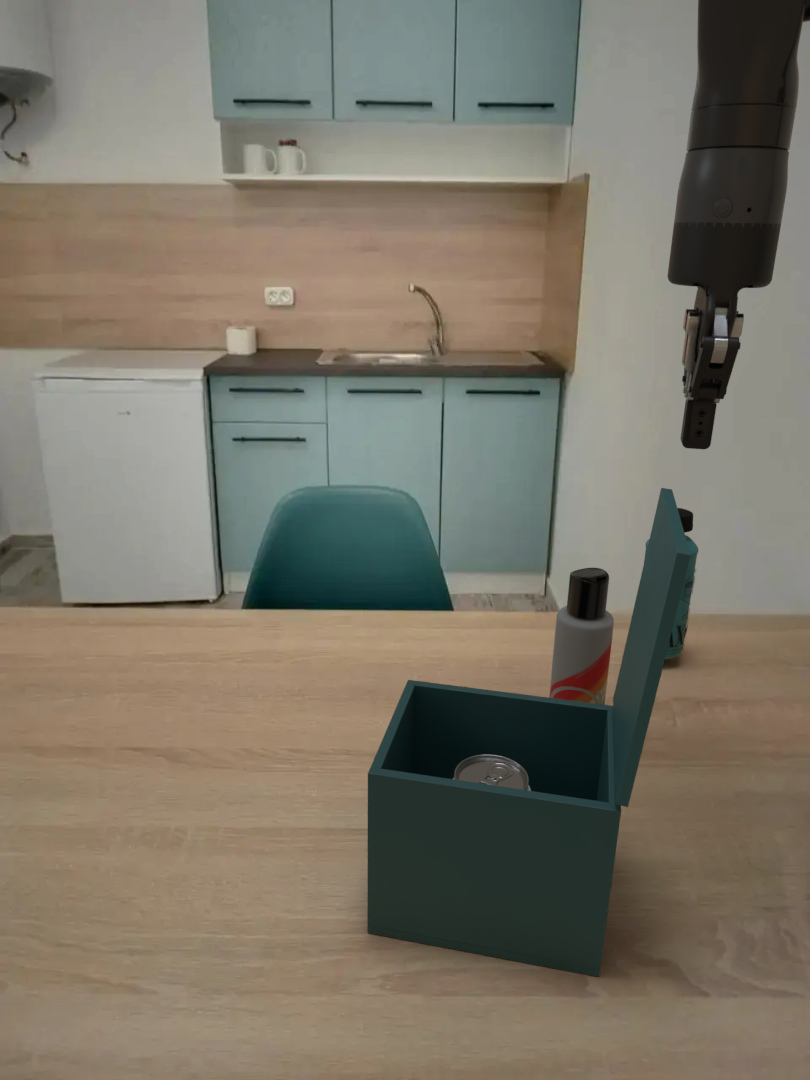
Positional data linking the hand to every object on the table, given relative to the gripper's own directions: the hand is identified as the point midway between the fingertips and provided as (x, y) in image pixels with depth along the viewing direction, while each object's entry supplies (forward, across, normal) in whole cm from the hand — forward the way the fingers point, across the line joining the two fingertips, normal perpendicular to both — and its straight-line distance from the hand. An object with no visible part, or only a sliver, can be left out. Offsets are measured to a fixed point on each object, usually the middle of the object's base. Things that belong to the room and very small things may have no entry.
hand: (694, 446), depth 68 cm
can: (+34, -17, +13) cm, 41 cm away
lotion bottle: (+35, +8, +7) cm, 37 cm away
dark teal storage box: (+35, -15, +13) cm, 40 cm away
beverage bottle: (+35, +30, -3) cm, 46 cm away
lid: (+11, -15, +4) cm, 19 cm away
